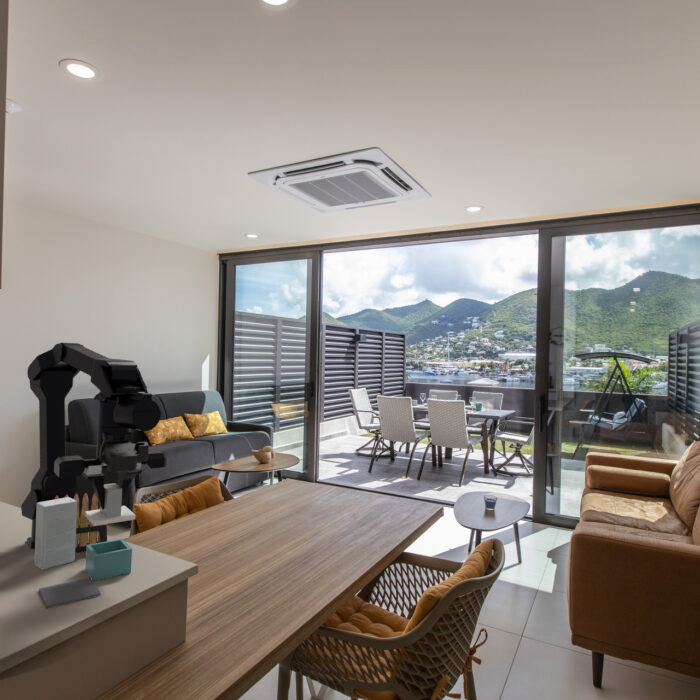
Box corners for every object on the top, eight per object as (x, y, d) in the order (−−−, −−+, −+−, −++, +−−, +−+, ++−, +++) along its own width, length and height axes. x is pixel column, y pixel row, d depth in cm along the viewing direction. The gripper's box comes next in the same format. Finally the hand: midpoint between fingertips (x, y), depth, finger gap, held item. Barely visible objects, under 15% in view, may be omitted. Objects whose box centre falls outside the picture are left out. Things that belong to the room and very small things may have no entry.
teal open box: (85, 568, 96) (86, 545, 96) (121, 561, 100) (122, 538, 100) (93, 581, 91) (94, 556, 91) (130, 572, 95) (132, 548, 95)
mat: (39, 590, 86) (39, 588, 86) (90, 579, 91) (90, 577, 91) (46, 608, 81) (46, 606, 81) (100, 595, 86) (100, 593, 86)
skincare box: (66, 555, 102) (69, 496, 102) (75, 561, 99) (78, 500, 99) (32, 564, 97) (35, 502, 97) (41, 570, 94) (44, 506, 95)
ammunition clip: (48, 557, 101) (51, 497, 101) (48, 553, 102) (51, 494, 103) (107, 548, 106) (109, 492, 106) (106, 545, 108) (109, 489, 108)
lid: (84, 515, 96) (86, 485, 96) (124, 509, 100) (126, 480, 101) (93, 526, 90) (95, 493, 90) (135, 519, 95) (136, 488, 95)
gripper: (67, 434, 84) (62, 528, 83) (178, 428, 95) (174, 510, 95) (55, 426, 92) (51, 511, 92) (158, 421, 104) (155, 497, 104)
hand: (110, 507), depth 95 cm, fingers closed on lid, 2 cm apart
